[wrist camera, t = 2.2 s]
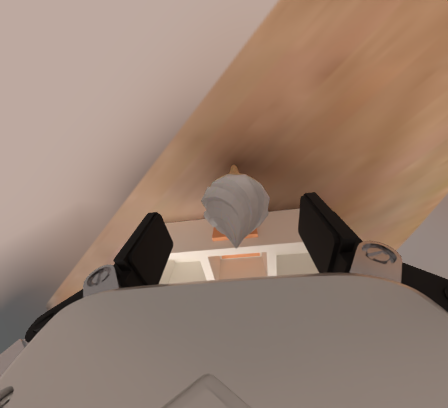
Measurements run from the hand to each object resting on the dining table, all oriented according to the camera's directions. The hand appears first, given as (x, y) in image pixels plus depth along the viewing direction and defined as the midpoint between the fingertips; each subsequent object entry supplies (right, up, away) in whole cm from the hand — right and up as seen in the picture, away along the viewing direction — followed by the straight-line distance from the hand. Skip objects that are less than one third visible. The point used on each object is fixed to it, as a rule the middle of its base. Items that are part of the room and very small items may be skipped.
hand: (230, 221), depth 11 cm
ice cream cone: (+1, +6, +11) cm, 13 cm away
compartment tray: (+2, -5, +18) cm, 19 cm away
